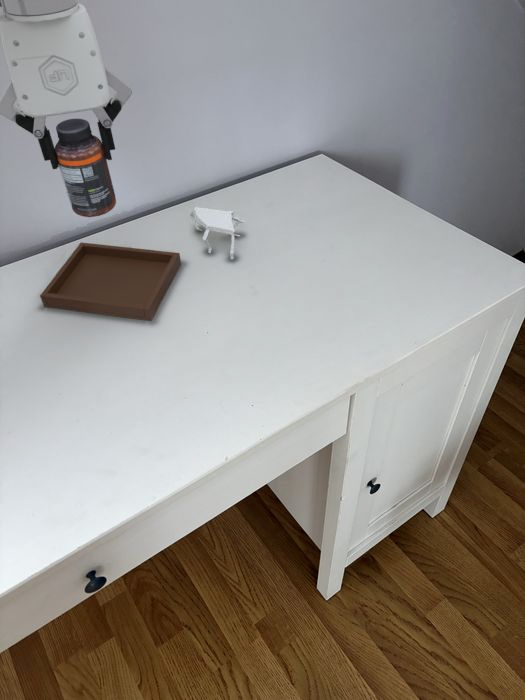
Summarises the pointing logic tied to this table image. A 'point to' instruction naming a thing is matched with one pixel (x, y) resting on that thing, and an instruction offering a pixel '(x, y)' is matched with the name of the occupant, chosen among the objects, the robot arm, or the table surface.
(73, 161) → the supplement bottle
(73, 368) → the table surface
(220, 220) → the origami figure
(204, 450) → the table surface
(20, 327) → the table surface
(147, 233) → the table surface
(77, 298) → the serving tray
